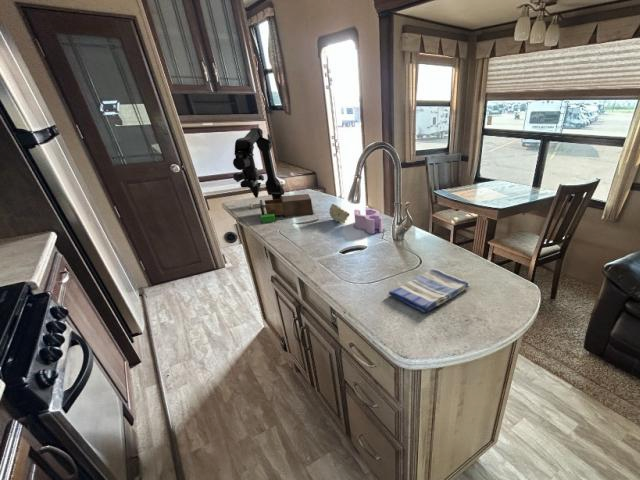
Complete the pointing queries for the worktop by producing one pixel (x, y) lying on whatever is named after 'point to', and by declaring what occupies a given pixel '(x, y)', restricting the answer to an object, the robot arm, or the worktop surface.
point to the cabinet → (297, 205)
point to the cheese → (338, 214)
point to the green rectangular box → (268, 218)
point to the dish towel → (429, 290)
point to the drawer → (270, 207)
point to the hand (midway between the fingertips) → (256, 197)
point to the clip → (369, 220)
